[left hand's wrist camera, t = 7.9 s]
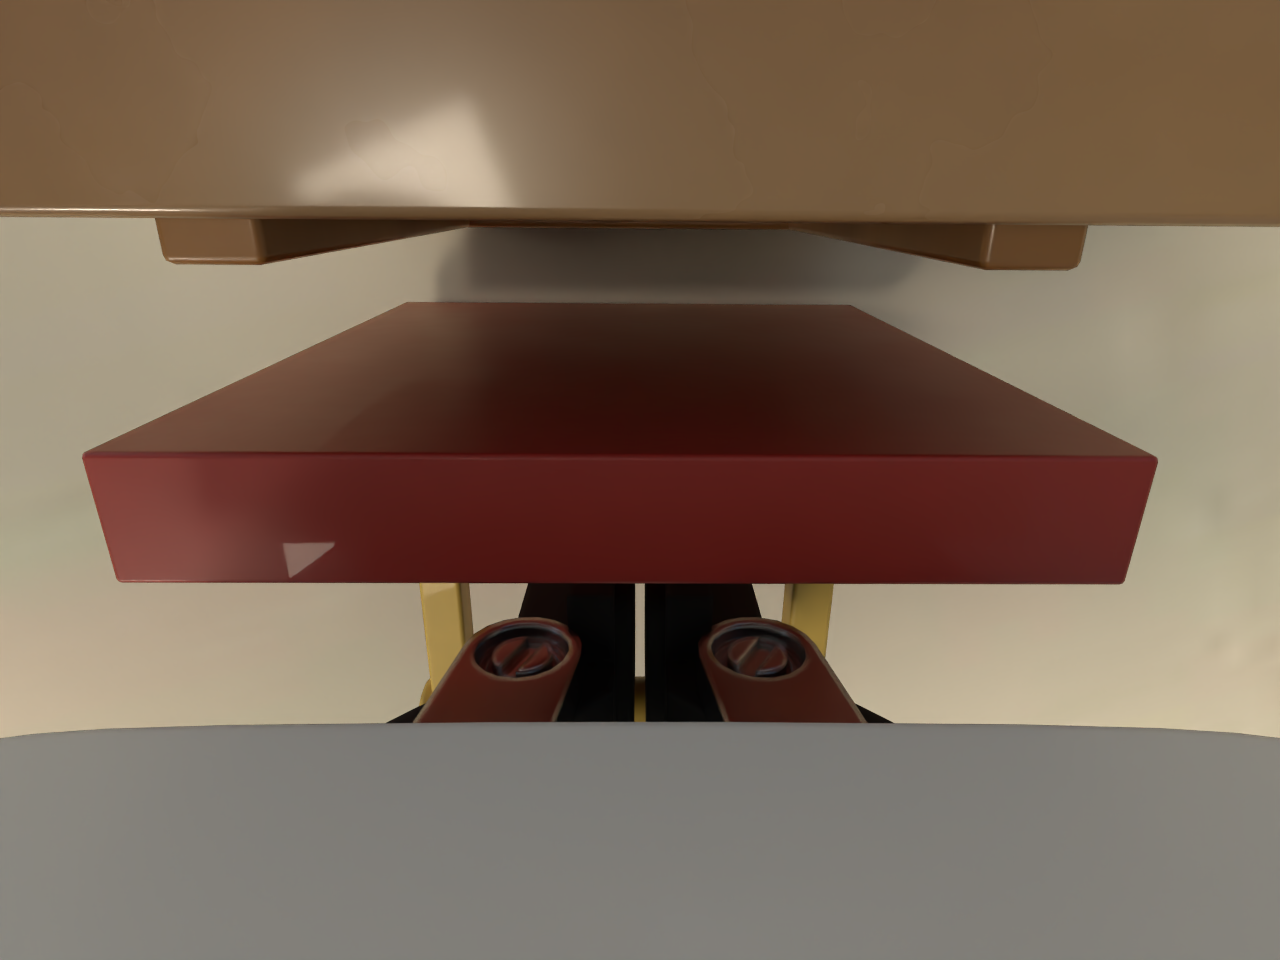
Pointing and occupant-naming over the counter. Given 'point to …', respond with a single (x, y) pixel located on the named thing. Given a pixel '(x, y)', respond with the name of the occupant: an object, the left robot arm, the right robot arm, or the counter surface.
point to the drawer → (619, 445)
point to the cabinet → (644, 110)
